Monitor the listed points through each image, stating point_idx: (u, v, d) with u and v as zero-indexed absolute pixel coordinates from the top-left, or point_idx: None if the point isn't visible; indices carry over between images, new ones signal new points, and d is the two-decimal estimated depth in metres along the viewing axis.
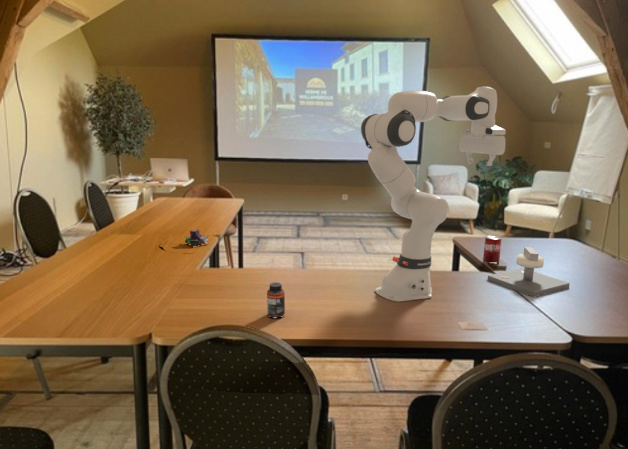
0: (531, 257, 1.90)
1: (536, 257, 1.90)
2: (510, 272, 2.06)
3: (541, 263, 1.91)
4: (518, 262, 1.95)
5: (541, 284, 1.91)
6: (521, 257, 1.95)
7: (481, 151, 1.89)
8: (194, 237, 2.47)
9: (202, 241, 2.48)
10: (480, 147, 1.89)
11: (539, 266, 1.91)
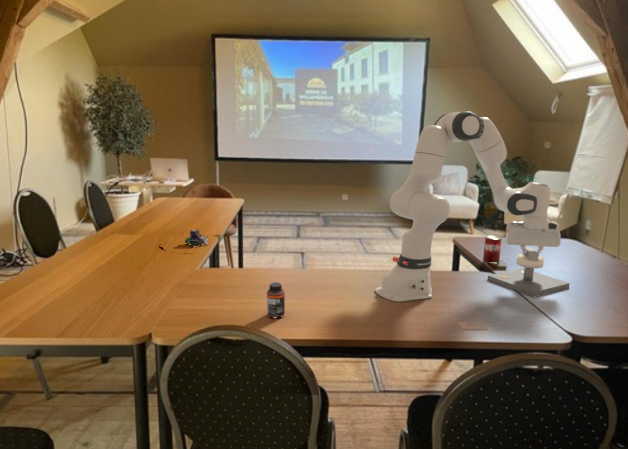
0: (531, 257, 1.90)
1: (536, 257, 1.90)
2: (510, 272, 2.06)
3: (541, 263, 1.91)
4: (518, 262, 1.95)
5: (541, 284, 1.91)
6: (521, 257, 1.95)
7: (538, 244, 1.92)
8: (194, 237, 2.47)
9: (202, 241, 2.48)
10: (537, 240, 1.92)
11: (539, 266, 1.91)
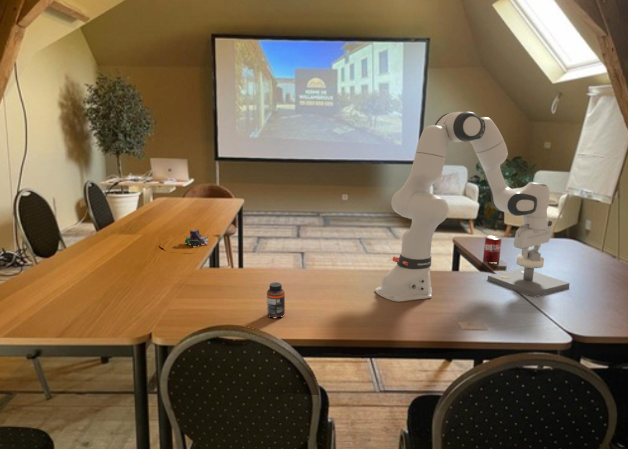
0: (534, 257, 1.90)
1: (538, 257, 1.90)
2: (510, 272, 2.06)
3: (542, 263, 1.92)
4: (519, 263, 1.94)
5: (541, 284, 1.91)
6: (522, 257, 1.94)
7: (538, 243, 1.94)
8: (194, 237, 2.47)
9: (202, 241, 2.48)
10: (538, 239, 1.93)
11: (541, 266, 1.92)
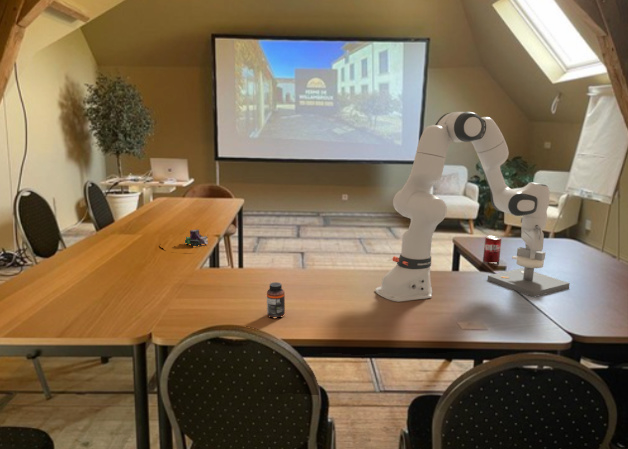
0: (542, 257, 1.91)
1: (544, 256, 1.92)
2: (510, 272, 2.06)
3: None
4: (528, 265, 1.91)
5: (541, 284, 1.91)
6: (529, 259, 1.92)
7: None
8: (194, 237, 2.47)
9: (202, 241, 2.48)
10: None
11: None
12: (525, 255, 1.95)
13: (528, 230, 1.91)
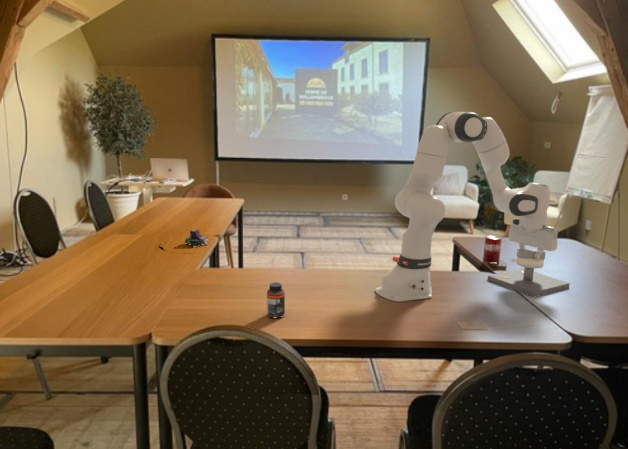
0: None
1: None
2: (510, 272, 2.06)
3: None
4: (537, 265, 1.91)
5: (541, 284, 1.91)
6: (535, 260, 1.92)
7: None
8: (194, 237, 2.47)
9: (202, 241, 2.48)
10: None
11: None
12: (528, 256, 1.94)
13: (534, 231, 1.90)
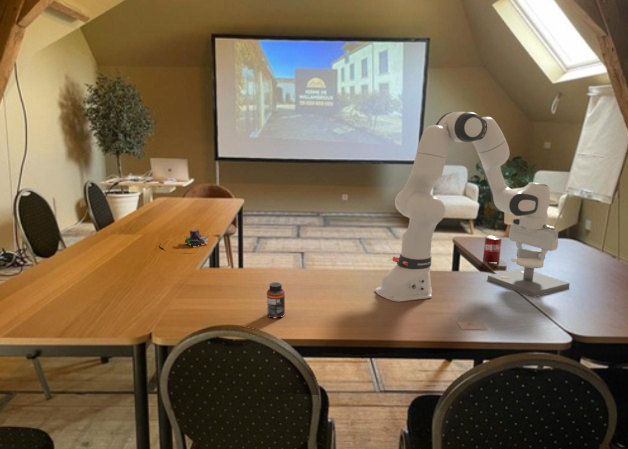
0: None
1: None
2: (510, 272, 2.06)
3: None
4: (537, 265, 1.91)
5: (541, 284, 1.91)
6: (535, 260, 1.92)
7: None
8: (194, 237, 2.47)
9: (202, 241, 2.48)
10: None
11: None
12: (528, 256, 1.94)
13: (534, 231, 1.90)
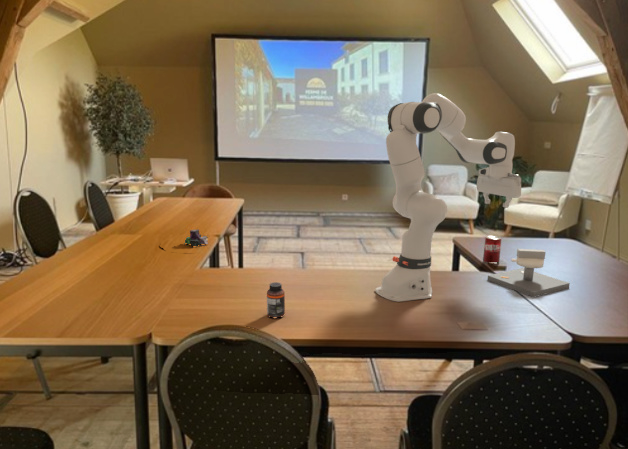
0: None
1: None
2: (510, 272, 2.06)
3: None
4: (537, 265, 1.91)
5: (541, 284, 1.91)
6: (535, 260, 1.92)
7: None
8: (194, 237, 2.47)
9: (202, 241, 2.48)
10: None
11: None
12: (528, 256, 1.94)
13: (499, 179, 1.95)
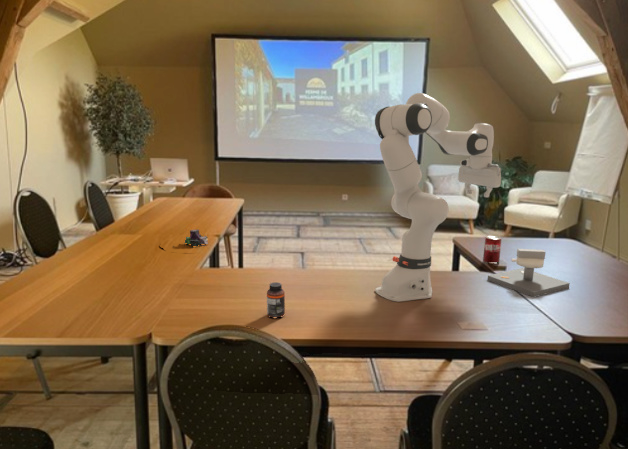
0: None
1: None
2: (510, 272, 2.06)
3: None
4: (537, 265, 1.91)
5: (541, 284, 1.91)
6: (535, 260, 1.92)
7: None
8: (194, 237, 2.47)
9: (202, 241, 2.48)
10: None
11: None
12: (528, 256, 1.94)
13: (480, 170, 1.99)
